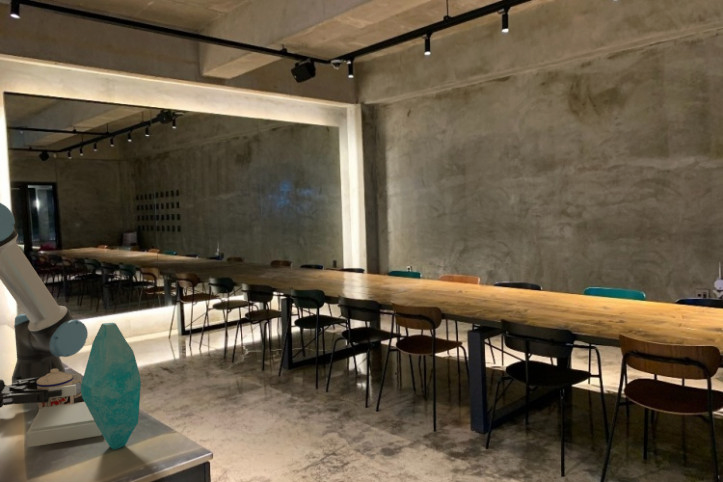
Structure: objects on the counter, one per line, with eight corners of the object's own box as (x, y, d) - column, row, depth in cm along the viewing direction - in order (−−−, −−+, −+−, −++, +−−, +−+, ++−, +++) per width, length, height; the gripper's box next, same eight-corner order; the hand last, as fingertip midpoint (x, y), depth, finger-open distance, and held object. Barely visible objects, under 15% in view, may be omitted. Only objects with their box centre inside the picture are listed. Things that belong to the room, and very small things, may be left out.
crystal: (101, 467, 114) (94, 334, 111) (78, 448, 123) (71, 324, 121) (154, 448, 123) (149, 323, 120) (129, 431, 132) (124, 315, 130)
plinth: (40, 421, 139) (39, 406, 138) (106, 411, 144) (106, 397, 144) (27, 447, 124) (26, 431, 123) (101, 435, 130) (100, 420, 129)
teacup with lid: (38, 418, 140) (36, 377, 139) (36, 408, 148) (34, 368, 147) (88, 408, 147) (86, 368, 146) (84, 398, 155) (82, 360, 154)
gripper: (-2, 394, 151) (84, 383, 159) (-27, 425, 130) (73, 410, 138) (-4, 369, 150) (82, 360, 159) (-29, 396, 130) (72, 383, 138)
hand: (78, 383), depth 149 cm, fingers open, 10 cm apart
